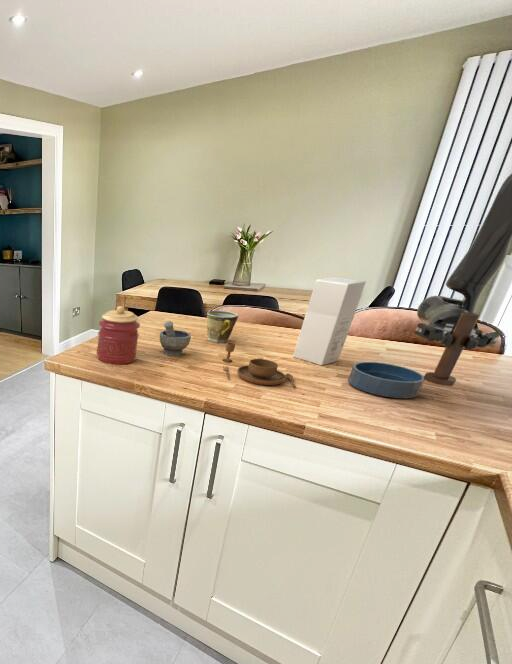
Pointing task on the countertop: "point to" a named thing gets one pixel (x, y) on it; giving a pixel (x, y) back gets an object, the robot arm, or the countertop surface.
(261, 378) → the place setting
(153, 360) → the countertop surface
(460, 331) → the brown post with base
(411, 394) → the bowl
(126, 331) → the kitchen canister
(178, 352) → the mortar and pestle
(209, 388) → the countertop surface
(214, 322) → the ceramic cup
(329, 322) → the tall white carton
